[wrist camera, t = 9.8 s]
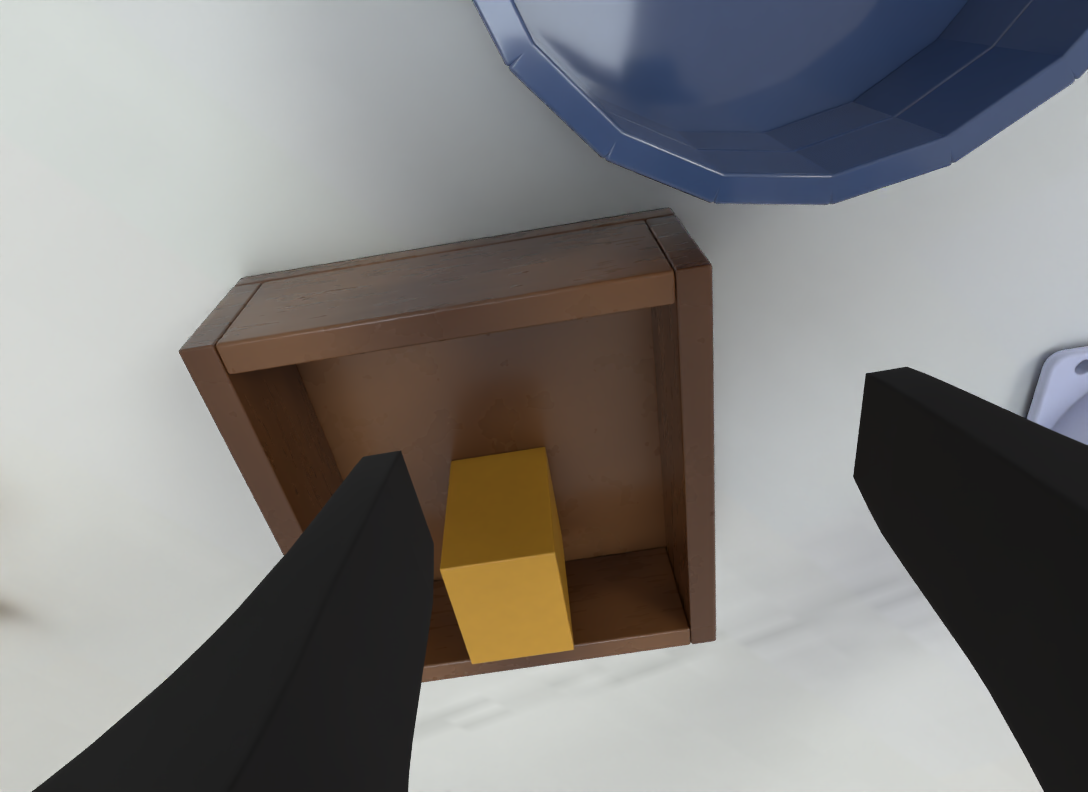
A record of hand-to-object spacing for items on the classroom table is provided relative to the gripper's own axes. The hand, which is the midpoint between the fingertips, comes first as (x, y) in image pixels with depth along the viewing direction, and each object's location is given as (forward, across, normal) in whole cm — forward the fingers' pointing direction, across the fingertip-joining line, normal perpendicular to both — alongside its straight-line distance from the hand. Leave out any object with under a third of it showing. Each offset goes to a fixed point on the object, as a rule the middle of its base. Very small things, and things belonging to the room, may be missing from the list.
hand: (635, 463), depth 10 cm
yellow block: (+8, +3, +8) cm, 12 cm away
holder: (+9, +3, +5) cm, 11 cm away
